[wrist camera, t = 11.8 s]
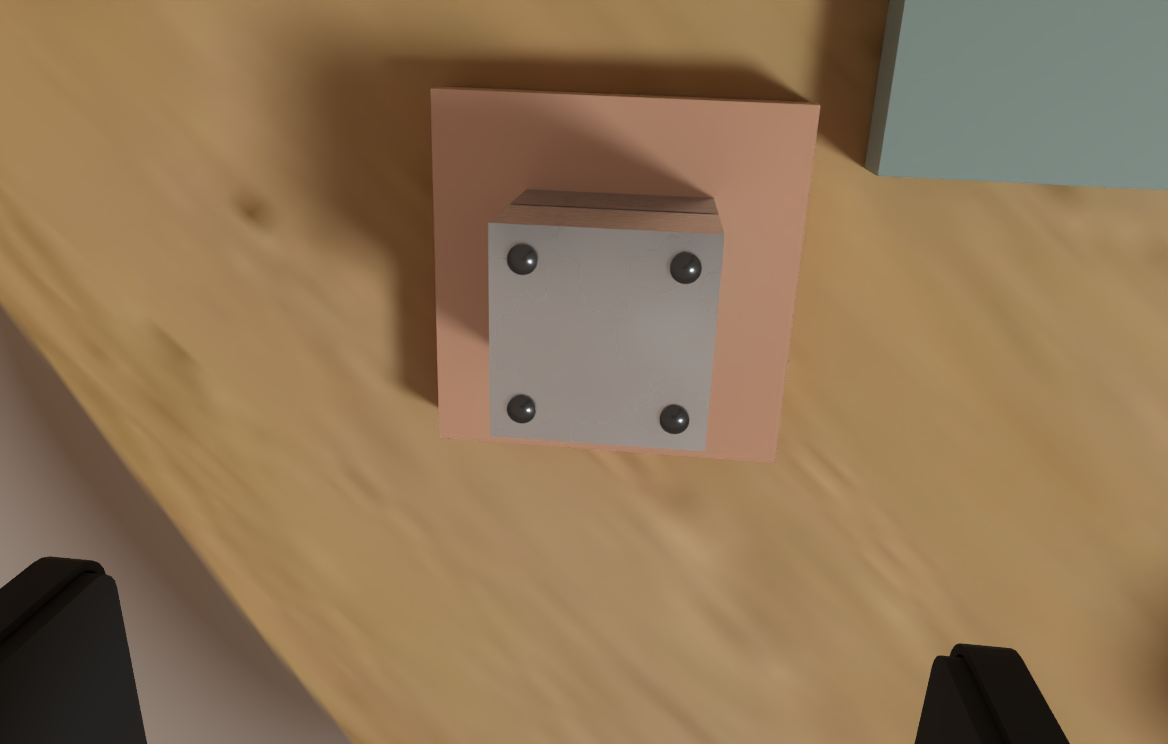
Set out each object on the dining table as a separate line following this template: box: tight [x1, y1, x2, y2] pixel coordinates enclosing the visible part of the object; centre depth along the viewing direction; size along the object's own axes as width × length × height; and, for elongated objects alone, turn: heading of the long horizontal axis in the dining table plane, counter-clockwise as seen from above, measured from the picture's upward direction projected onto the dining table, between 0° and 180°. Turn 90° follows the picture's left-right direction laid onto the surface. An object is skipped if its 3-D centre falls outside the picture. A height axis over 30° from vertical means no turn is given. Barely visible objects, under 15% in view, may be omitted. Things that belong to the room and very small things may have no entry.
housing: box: [488, 189, 725, 451], centre depth 25 cm, size 6×6×6 cm
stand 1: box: [430, 87, 820, 463], centre depth 29 cm, size 12×12×2 cm
